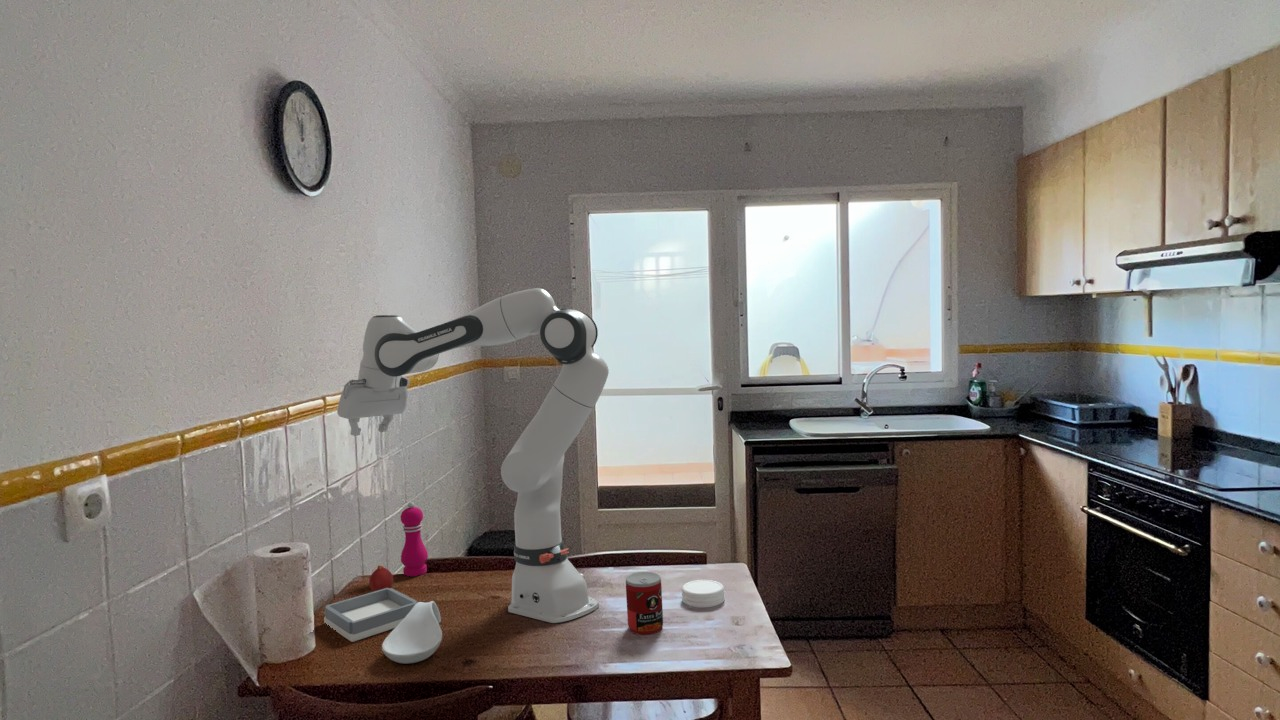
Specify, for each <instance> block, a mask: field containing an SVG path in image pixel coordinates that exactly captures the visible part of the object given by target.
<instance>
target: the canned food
mask: <svg viewBox="0 0 1280 720" xmlns="http://www.w3.org/2000/svg"><path fill="white" fill-rule="evenodd" d="M661 578H662V577H661V575H660V574H659V573H656V572H651V571H638V572H634V573H631V574H629V575H627V576H626V577H625V595H626V612H627V613H626V614H627V615H626V616H627V626H628V629H629V631H630V632H631V633H632V634H633V633H634V634H635V635H641V636H642V635H643V636H646V635H653V634H654V635H655V634H657V633H658V632H661V631H662V629H663V626H664V615H663V613H664V611H663V593H662V592H663V591H662V579H661Z"/></svg>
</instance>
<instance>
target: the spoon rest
mask: <svg viewBox="0 0 1280 720" xmlns="http://www.w3.org/2000/svg"><path fill="white" fill-rule="evenodd" d="M441 621H442V617H441V613H440V609H439V607H438V605H437V604H436V601H434V600H430V601H427V602H423V601H418V603H416V604H415V606H414V607H413V608H412V610H411V611H410V612H409V613H408V614H407V616H406V617H405V618H404V619H403V620H402V621H401V622H400V623H399V624H398V625H397V626H396V627H395V628H393V629H392V631H390V633H388V635H387V636H386V637H385V639H384V640H383V642H382V644H381V650H382V652H383V653H384V655H385V656H386V658H388V659H390V660H391V661H393V662H395V663H398V664H406V665H407V664H415V663H419V662H421V661H424V660H426V659H428V658H429V657H431V656H432V655H434V654H435V652H436V651H437V650H438V648H439V647H440V644H441V643H442V639H443V631H442V628H441V625H440V623H441Z"/></svg>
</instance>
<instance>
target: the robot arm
mask: <svg viewBox="0 0 1280 720" xmlns="http://www.w3.org/2000/svg"><path fill="white" fill-rule="evenodd" d="M598 331H599V330H598V326H597V324H596V322H595V320H594V319H593V318H592V317H591V316H590V315H588V314H587V313H585V312H582V311H579V310H578V309H577V310H576V309H568V308H560V309H559V308H558V307H557V305H556V302H555V300H554V298H553V297H552V295H551V294H550V293H549V292H548V291H547V290H545V289H544V288H540V287H535V288H528V289H524V290H518V291H515V292H512V293H508V294H506V295H503V296H500V297H497V298H495V299H493V300H491V301H488V302H486V303H484V304H483V305H482V304H481V305H480V306H478V307H477V308H475V309H473V310H471V311H468V312H467V313H465V314H463V315H460V316H459V317H456V318H454V319H452V320H450V321H447V322H443V323H441V324H438V325H435V326H433V327H430V328H426V329H422V330H420V331H418V330H416V329H415V328H414V327H412V326H411V325H409V323H407V322H406V321H405V320H404V318H403V317H401V316H400V315H396V314H394V315H393V314H389V315H388V314H380V315H379V314H378V315H377V314H376V315H375V316H372V317H371V318H369V321H368V322H367V325H366V328H365V333H364V336H363V342H362V352H363V355H362V358H361V361H360V364H359V370H358V377H357V379H349V381H347V382H346V384H344V386H343V390H342V391H341V394H340V397H339V401H338V404H337V405H338V406H337V411H336V413H337V415H338V416H339V417H340V418H343V419H348V423H349V426H350V428H351V429H350V435H352V436H354V437H357V436H360V435H361V433H362V432H361V431H362V428H361V427H359V423H360V419H363V418H370V417H371V418H373V417H380V416H381V417H383V419H382V421H381V423H379V424H378V429H377V431H378V432H381V433H386V432H388V429H389V425H390V424H391V422H392V420H393V418H394V415H401V414H403V413H404V412H405V411H406V408H407V403H408V396H409V395H408V393H409V391H408V387H409V386H410V379H409V378H407V377H405V376H404V375H408V374H415V373H422V372H426V371H428V370H430V369H432V368H434V366H436V363H438V359H439V355H440V354H443V353H445V352H448V351H451V350H455V349H460V348H466V347H468V348H469V347H492V346H493V347H494V346H500V345H506V344H509V343H513V342H516V341H518V340H519V341H520V340H521V339H524V338H527V337H529V336H530V337H531V336H534V335H539V337H540V341H541V343H542V344H543V346H544V348H545V349H546V350H547V351H548V352H549V353H550V354H551V355H552V357H554V358H555V360H557V363H559V364H561V365H562V367H561V369H560V372H559V374H558V376H557V378H556V379H555V381H554V383H553V384H552V386H551V388H550V389H549V391H548V393H547V395H546V397H545V398H544V400H543V402H542V403H541V405H540V407H539V409H538V411H537V412H536V414H535V415H534V417H533V418H532V419H531V420H530V422H529V423H528V424H527V426H526V428H525V429H524V430H523V432H522V433H521V435H520V436H519V438H518V439H517V441H516V442H515V443H514V445H513V446H512V447H511V450H510V451H509V452H508V454H507V455H506V457H505V459H504V460H503V462H502V464H501V468H500V475H501V479H502V481H503V483H504V485H505V486H506V488H509V490H511V491H512V492H515V493H517V498H516V504H515V508H514V512H513V517H514V536H515V544H514V546H513V555H514V561H515V568H514V570H513V573H512V575H511V576H512V577H511V603H510V604H509V605H508V606H507V611H508V613H511V614H515V615H519V616H522V617H523V616H524V617H527V618H532V619H535V620H539V621H542V622H547V623H551V624H558V623H563V622H567V621H571V620H574V619H578V618H580V617H583V616H586V615H588V614H590V613H592V612H593V611H595V610H597V609H598V608H599V606H600V602H599V601H598V600H596V598H593V597H591V596H590V595H589V591H588V585H587V584H588V583H587V582H586V579H585V575H584V573H581V572H579V571H578V570H577V569H576V567H575V566H574V565H573V563H572V562H571V561H570V560H569V559H568V554H569V553H570V551H569V550H570V549H569V547H566V545H565V542H564V541H563V539H562V524H561V523H562V521H561V502H562V501H561V500H562V491H563V490H562V489H563V488H562V487H563V476H564V475H563V473H564V463H565V453H566V452H567V451H568V449H569V448H570V446H571V445H572V443H573V442H574V441H575V439H576V438H577V437H578V435H579V434H580V432H581V430H582V428H583V427H584V425H585V423H586V421H587V419H588V418H589V417H590V414H591V413H592V411H593V409H594V408H595V406H596V404H597V402H598V400H599V399H600V396H601V395H602V393H603V391H604V388H605V385H606V382H607V379H608V376H609V366H608V364H607V363H606V361H605V360H604V358H602V357H601V356H599V354H596V352H594V350H593V347H594V346H595V344H596V343H597V339H598V334H599V333H598Z"/></svg>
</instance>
